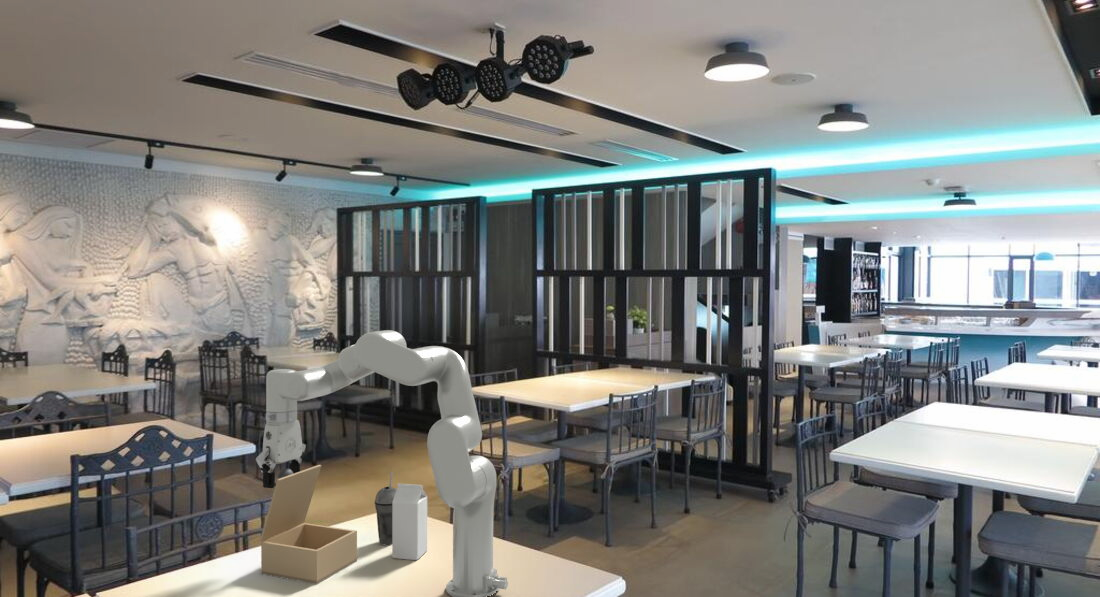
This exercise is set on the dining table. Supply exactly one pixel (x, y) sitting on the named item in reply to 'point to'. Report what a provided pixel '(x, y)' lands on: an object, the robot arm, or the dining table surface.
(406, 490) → the milk carton
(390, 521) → the beverage cup
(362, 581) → the dining table surface
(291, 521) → the flap
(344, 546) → the light brown open box
